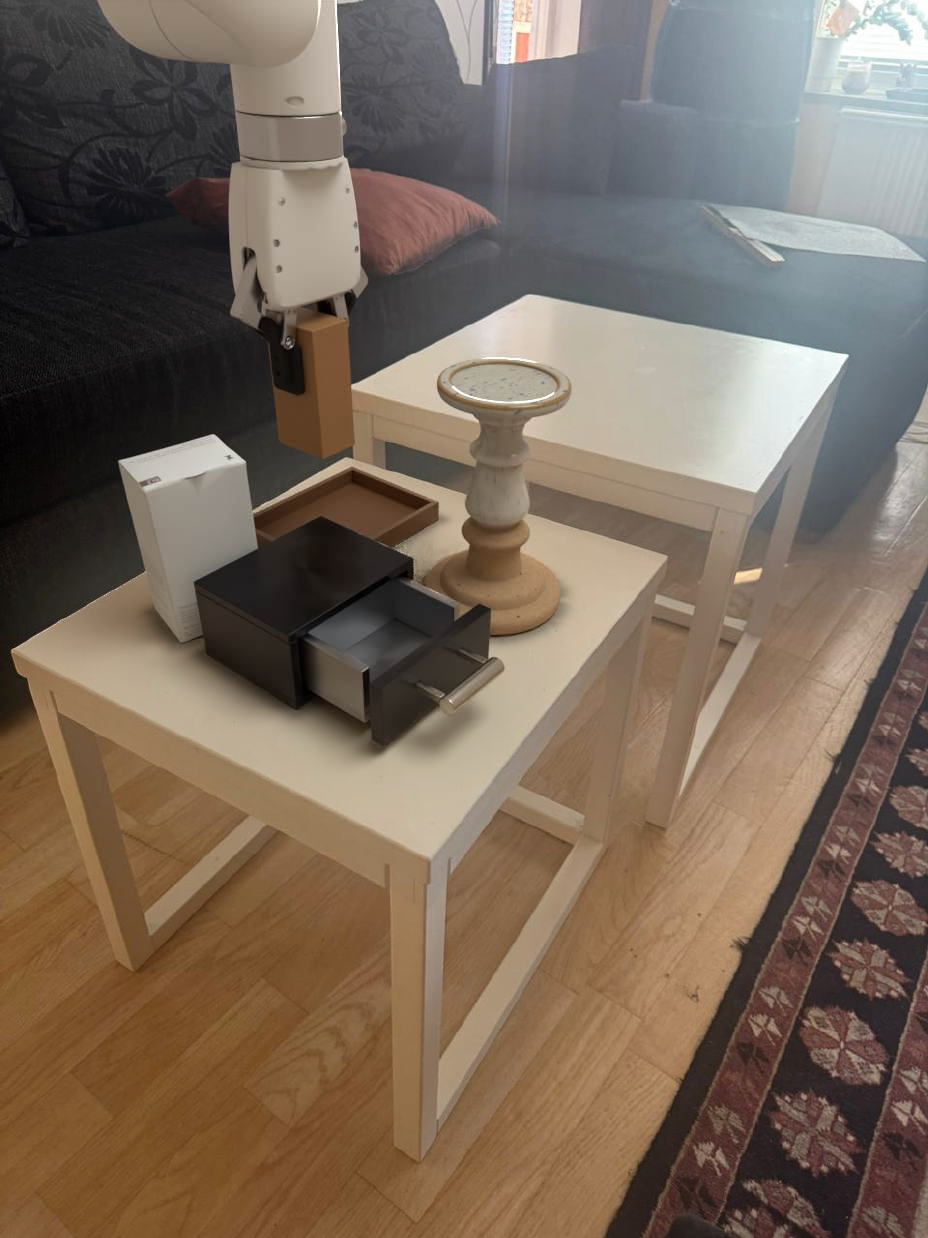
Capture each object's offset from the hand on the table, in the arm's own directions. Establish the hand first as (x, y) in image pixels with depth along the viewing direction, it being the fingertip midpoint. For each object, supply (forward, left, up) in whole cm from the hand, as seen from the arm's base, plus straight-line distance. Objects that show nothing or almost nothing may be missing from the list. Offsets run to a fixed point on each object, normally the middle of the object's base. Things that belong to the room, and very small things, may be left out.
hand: (310, 380), depth 74 cm
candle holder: (+4, -17, -17) cm, 25 cm away
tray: (+4, +1, -17) cm, 18 cm away
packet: (0, 0, -6) cm, 6 cm away
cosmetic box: (-14, 0, -17) cm, 22 cm away
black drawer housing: (-11, -10, -17) cm, 22 cm away
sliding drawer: (-11, -20, -16) cm, 28 cm away
